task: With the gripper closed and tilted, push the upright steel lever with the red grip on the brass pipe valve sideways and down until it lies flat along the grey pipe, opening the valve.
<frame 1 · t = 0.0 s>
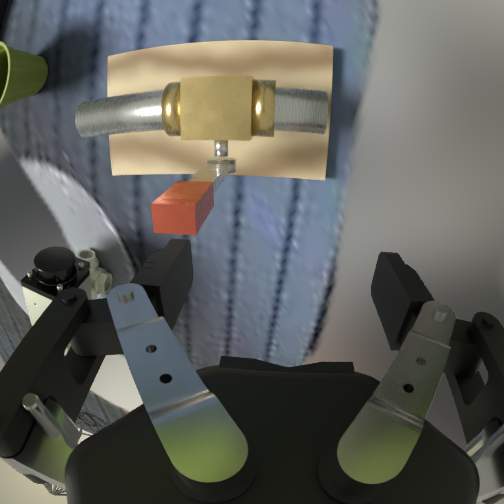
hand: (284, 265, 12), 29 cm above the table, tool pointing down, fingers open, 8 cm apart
geometric lantern: (85, 417, 83), on the table
valve body: (198, 116, 30), on the mounting board, point 7 cm above the table
valve lever: (206, 181, 24), point 17 cm above the table, hinge at 0.0°
plant pot: (35, 75, 34), on the table
ball valve: (96, 270, 50), on the table
mounting board: (235, 106, 36), on the table
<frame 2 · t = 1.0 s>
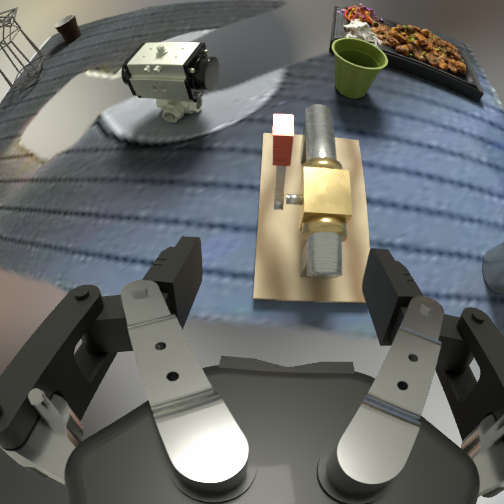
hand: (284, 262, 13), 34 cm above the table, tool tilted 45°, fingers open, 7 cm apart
geometric lantern: (32, 80, 71), on the table
coffee mug: (74, 36, 77), on the table
food platter: (405, 52, 64), on the table
valve body: (313, 190, 43), on the mounting board, point 7 cm above the table
valve lever: (280, 171, 33), point 17 cm above the table, hinge at 0.0°
plant pot: (350, 89, 58), on the table
ball valve: (180, 111, 58), on the table
mounting board: (313, 228, 49), on the table
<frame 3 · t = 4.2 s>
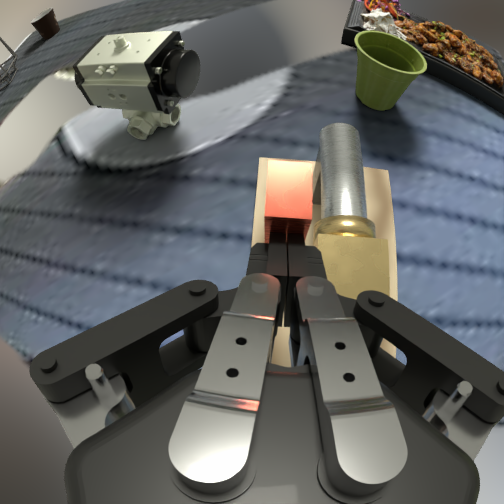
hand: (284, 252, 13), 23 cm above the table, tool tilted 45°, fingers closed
geometric lantern: (4, 83, 57), on the table
coffee mug: (53, 32, 63), on the table
food platter: (433, 54, 51), on the table
valve body: (328, 257, 29), on the mounting board, point 7 cm above the table
valve lever: (280, 254, 19), point 17 cm above the table, hinge at 2.0°, touching gripper
plant pot: (374, 97, 45), on the table
ball valve: (153, 123, 44), on the table
mounting board: (323, 299, 35), on the table
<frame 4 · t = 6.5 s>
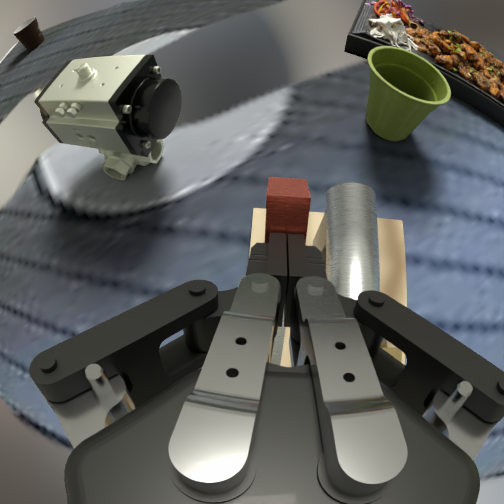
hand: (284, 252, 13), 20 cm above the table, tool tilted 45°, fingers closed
coffee mug: (38, 42, 59), on the table
food platter: (447, 67, 46), on the table
valve body: (330, 349, 24), on the mounting board, point 7 cm above the table
valve lever: (276, 322, 17), point 15 cm above the table, hinge at 42.2°, touching gripper
plant pot: (387, 124, 40), on the table
ball valve: (133, 159, 40), on the table
mounting board: (323, 374, 30), on the table
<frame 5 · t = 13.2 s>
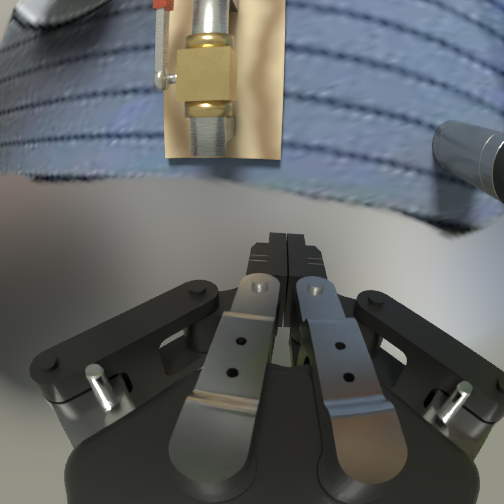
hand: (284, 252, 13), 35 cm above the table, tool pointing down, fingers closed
valve body: (206, 56, 32), on the mounting board, point 7 cm above the table
valve lever: (162, 31, 28), point 10 cm above the table, hinge at 87.5°
mounting board: (223, 81, 40), on the table
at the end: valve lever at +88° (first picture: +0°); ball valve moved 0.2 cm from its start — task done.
